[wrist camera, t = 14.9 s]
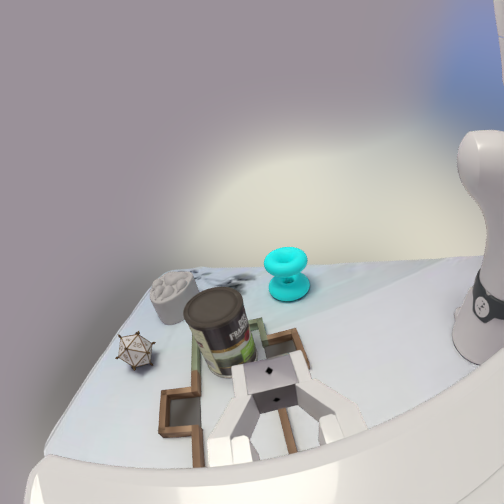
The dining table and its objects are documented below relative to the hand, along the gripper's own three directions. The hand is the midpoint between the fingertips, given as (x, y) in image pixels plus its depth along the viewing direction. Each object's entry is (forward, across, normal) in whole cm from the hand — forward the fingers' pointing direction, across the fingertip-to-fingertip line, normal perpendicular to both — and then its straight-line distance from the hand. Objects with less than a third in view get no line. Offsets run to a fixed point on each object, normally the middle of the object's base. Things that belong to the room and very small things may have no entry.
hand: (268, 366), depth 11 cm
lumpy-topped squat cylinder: (+48, +20, +32) cm, 61 cm away
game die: (+31, +27, +32) cm, 52 cm away
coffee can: (+28, +7, +32) cm, 43 cm away
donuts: (+45, -9, +32) cm, 56 cm away
